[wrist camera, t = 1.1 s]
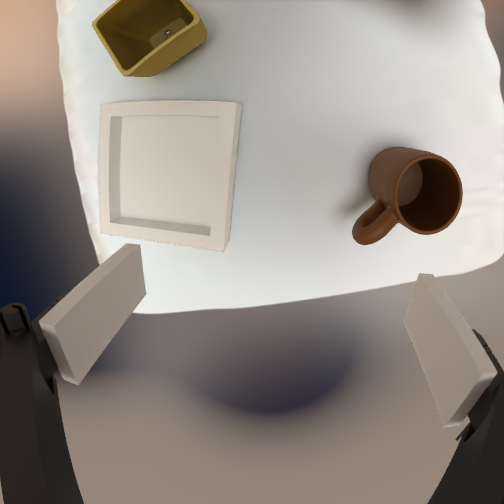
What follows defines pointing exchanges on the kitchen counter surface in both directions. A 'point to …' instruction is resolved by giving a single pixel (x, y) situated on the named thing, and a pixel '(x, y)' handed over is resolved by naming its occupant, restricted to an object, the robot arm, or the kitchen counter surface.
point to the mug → (409, 194)
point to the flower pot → (149, 34)
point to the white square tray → (168, 171)
